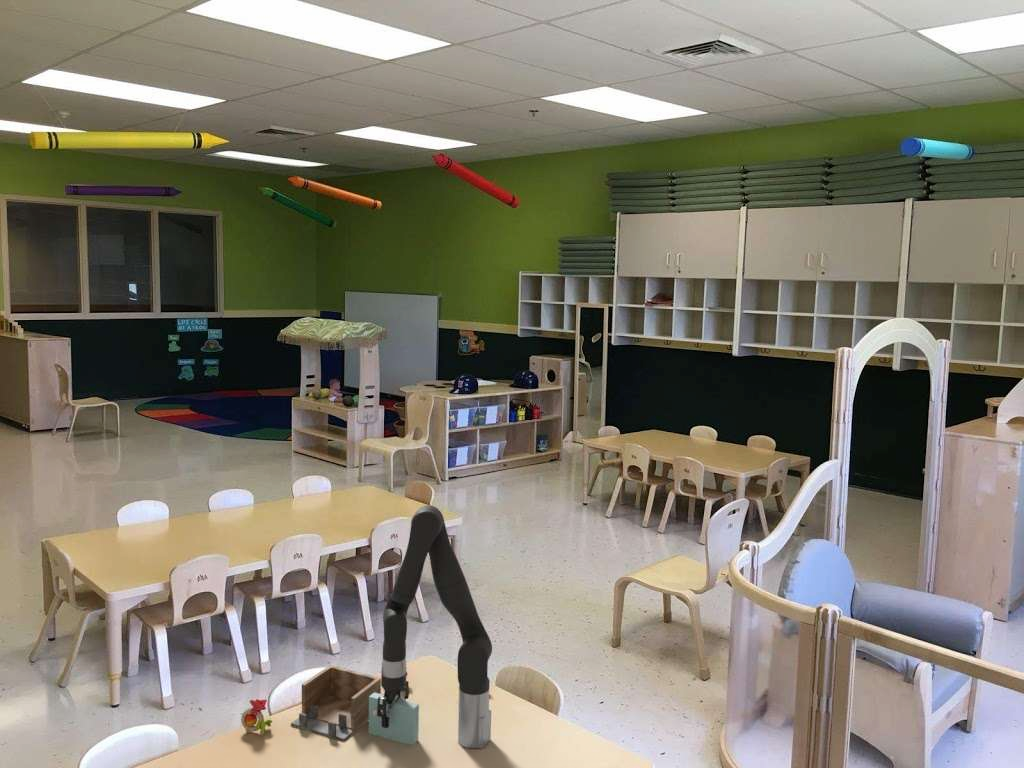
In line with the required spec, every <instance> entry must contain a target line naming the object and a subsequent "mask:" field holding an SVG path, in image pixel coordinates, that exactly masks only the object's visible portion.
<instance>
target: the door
mask: <svg viewBox="0 0 1024 768" xmlns="http://www.w3.org/2000/svg"><path fill="white" fill-rule="evenodd" d="M383 696H384V694H382V693H381V694H379V693H375V692H374V693H373V694H372V695H370V696H369V721H368V734H371V735H375V736H379V737H382V738H385V739H389V740H392V741H396V740H397V742H399V741H400V743H403V744H406V743H407V744H406V745H410V744H412V745H411V746H414V745H416V744H415V743H416V742H417V741H418V742H419V720H420V719H419V717H420V716H419V715H420V713H419V712H420V705H419V703H415V702H413V701H409V700H406V701H405V700H401V699H398V700H397V701H395V704H394V707H393V709H392V710H391V711H390V714H389V727H388V728H384V727H382V725H381V723H382V717H379V716H377V705H378V697H383ZM387 706H390V704H387ZM387 710H388V709H387V708H386V713H387ZM418 742H417V743H418Z"/></svg>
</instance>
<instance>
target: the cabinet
mask: <svg viewBox="0 0 1024 768" xmlns="http://www.w3.org/2000/svg"><path fill="white" fill-rule="evenodd" d="M374 692H375V693H379V694H382V693H381V692H382V686H381V677H377V676H374V675H370V674H366V673H361V672H358V671H354V670H351V669H347V668H343V667H339V666H334V665H327V667H325V668H324V669H322V670H320V671H319V672H318V673H316V674H315V675H313V676H311V677H310V678H309V679H308V680H306V681H304V682H303V683H302V684H301V712H299V713H298V717H297V718H296V719H294V720H293V721H292V722H290V726H291V725H292V726H291V727H294V726H296V727H295V728H297V727H299V728H298V729H301V728H302V730H304V729H306V730H305V731H307V730H308V731H307V732H311V731H312V733H314V732H315V733H314V734H318V735H321V734H322V736H325V737H329V738H332V739H335V740H339V741H341V742H345V741H346V740H348V739H349V737H351V736H353V734H355V733H356V732H357V731H358V730H359V729H360V728H362V727H363V726H365V724H367V721H368V720H369V696H370V695H372V694H373V693H374ZM368 722H369V721H368ZM361 726H362V727H361Z"/></svg>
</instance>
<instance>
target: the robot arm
mask: <svg viewBox="0 0 1024 768" xmlns="http://www.w3.org/2000/svg"><path fill="white" fill-rule="evenodd" d="M449 538H450V537H449V535H448V531H447V528H446V523H445V520H444V516H443V513H442V511H441V510H440V509H439V508H437V507H435V506H434V505H429V504H427V505H426V504H425V505H423V506H420V507H419V508H418V509H417V511H416V512H415V513H414V515H413V516H412V518H411V521H410V531H409V537H408V542H407V546H406V547H407V548H406V551H405V553H404V558H403V560H402V563H401V566H400V568H399V571H398V573H397V577H396V580H395V582H394V585H393V588H392V592H391V595H390V597H389V598H388V601H387V603H386V605H385V607H384V611H383V614H382V620H383V643H382V660H381V672H380V673H381V675H380V676H381V677H380V678H381V688H382V689H383V690H384V692H383V695H384V696H383V697H378V705H377V716H379V717H382V723H381V725H382V727H384V728H388V727H389V714H390V711H391V710H392V709H393V707H394V704H395V701H397V700H398V699H401V700H405V701H407V700H408V699H409V696H410V695H409V694H410V692H409V689H410V687H409V686H410V685H409V681H408V680H407V676H406V670H407V658H406V657H407V644H406V643H407V642H406V640H407V633H408V632H407V631H408V621H407V620H408V618H407V614H408V611H409V607H410V605H411V604H412V603H413V601H414V600H415V597H416V594H417V592H418V588H419V585H420V582H421V578H422V575H423V569H424V566H425V563H426V560H427V556H429V562H430V563H429V564H430V568H431V573H432V574H431V575H432V579H433V583H434V586H435V589H436V591H437V595H438V597H439V600H440V601H441V603H442V605H443V607H444V608H445V609H446V611H447V612H448V613H449V614H450V615H451V616H452V618H453V619H454V620H455V622H456V625H457V626H458V629H459V632H460V635H461V640H462V643H461V646H460V647H459V649H458V652H457V653H458V654H457V680H458V684H459V685H458V723H457V724H458V727H457V729H458V733H457V736H458V737H457V740H458V742H457V743H458V744H459V745H460V746H462V747H464V748H467V749H484V747H485V746H487V744H488V743H489V741H491V739H492V738H491V737H492V710H490V678H489V676H488V663H489V660H490V658H491V656H492V653H493V645H492V644H493V643H492V641H491V638H490V637H489V634H488V632H487V630H486V628H485V627H484V624H483V622H482V621H481V618H480V616H479V613H478V611H477V608H476V607H477V606H476V605H475V602H474V599H473V597H472V594H471V590H470V588H469V584H468V582H467V579H466V577H465V574H464V571H463V570H462V569H463V568H462V567H461V565H460V563H459V560H458V558H457V555H456V553H455V551H454V549H453V547H452V544H451V541H450V539H449ZM387 704H390V706H387ZM386 708H387V709H388V710H387V713H386Z"/></svg>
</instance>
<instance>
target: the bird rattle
mask: <svg viewBox="0 0 1024 768" xmlns="http://www.w3.org/2000/svg"><path fill="white" fill-rule="evenodd" d="M249 703H250V705H251V706H252V707H249V708H246V709H245V710H244V711H243V712H242V714H241V716H240V717H241V718H240V722H241V724H242V727H243V728H244V729H245V733H250V732H252V733H253V732H257V731H259V730H260V731H259V732H260V736H262V737H263V736H264V734H265V730H266V729H265V727H266V726H267V727H269V728H270V727H272V723H273V720H271V719H267V720H265V717H264V714H263V712H262V711H265V710H266V709H267V707H266V705H267V699H255V700H254V699H250V700H249Z"/></svg>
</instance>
